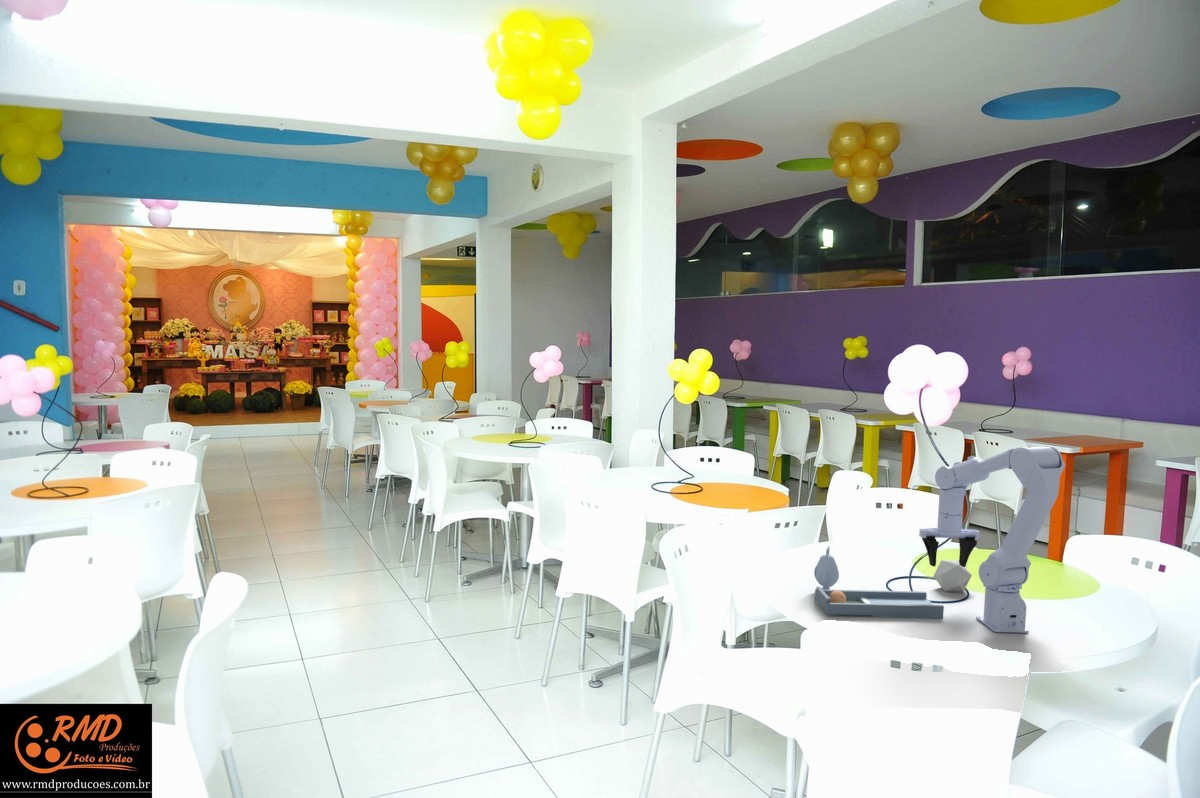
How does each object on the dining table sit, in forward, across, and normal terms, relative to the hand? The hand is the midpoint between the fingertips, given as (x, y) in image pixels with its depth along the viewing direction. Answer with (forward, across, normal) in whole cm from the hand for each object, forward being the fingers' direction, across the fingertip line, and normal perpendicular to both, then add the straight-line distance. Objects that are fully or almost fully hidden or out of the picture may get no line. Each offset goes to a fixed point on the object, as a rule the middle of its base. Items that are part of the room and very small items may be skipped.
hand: (947, 565), depth 205 cm
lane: (+9, +20, +7) cm, 23 cm away
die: (+10, -6, -10) cm, 15 cm away
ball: (+7, +30, +7) cm, 31 cm away
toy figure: (+10, +29, -6) cm, 31 cm away
